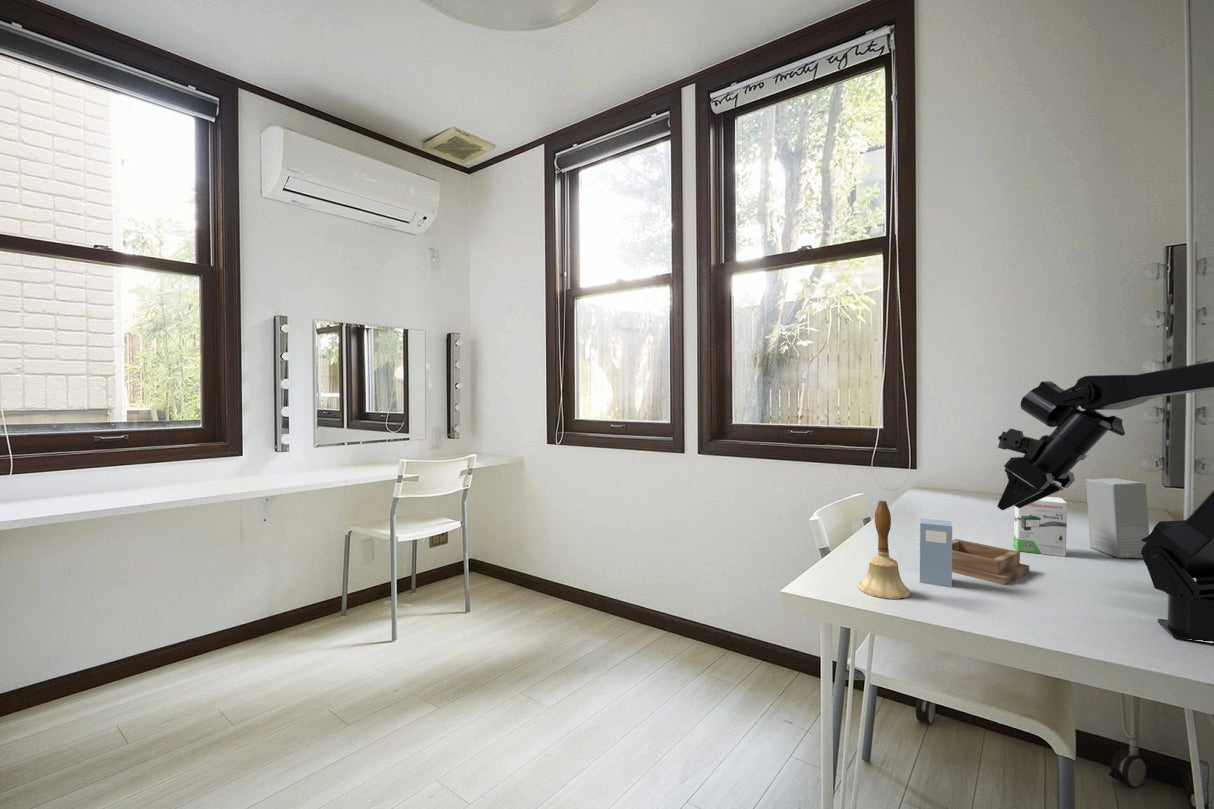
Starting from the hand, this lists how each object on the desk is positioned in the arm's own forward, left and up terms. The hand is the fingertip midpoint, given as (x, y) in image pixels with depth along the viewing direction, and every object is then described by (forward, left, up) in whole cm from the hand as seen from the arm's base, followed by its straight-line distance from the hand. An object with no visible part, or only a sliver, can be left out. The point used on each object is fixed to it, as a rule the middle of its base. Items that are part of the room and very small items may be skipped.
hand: (1008, 507), depth 102 cm
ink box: (+25, -8, -14) cm, 30 cm away
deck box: (-7, +12, -14) cm, 19 cm away
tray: (+5, +5, -13) cm, 15 cm away
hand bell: (-17, +20, -14) cm, 30 cm away
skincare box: (+31, -22, -14) cm, 41 cm away
